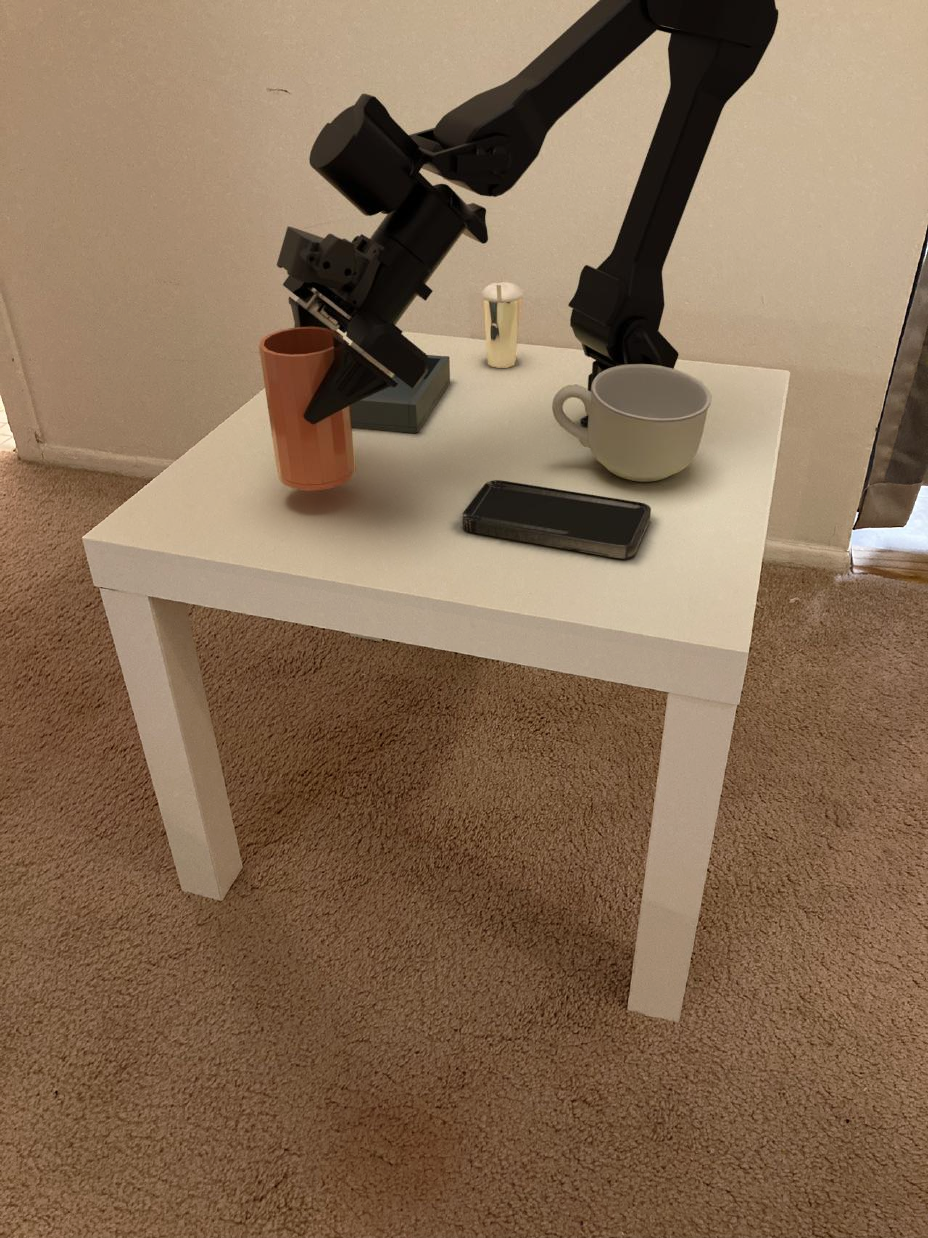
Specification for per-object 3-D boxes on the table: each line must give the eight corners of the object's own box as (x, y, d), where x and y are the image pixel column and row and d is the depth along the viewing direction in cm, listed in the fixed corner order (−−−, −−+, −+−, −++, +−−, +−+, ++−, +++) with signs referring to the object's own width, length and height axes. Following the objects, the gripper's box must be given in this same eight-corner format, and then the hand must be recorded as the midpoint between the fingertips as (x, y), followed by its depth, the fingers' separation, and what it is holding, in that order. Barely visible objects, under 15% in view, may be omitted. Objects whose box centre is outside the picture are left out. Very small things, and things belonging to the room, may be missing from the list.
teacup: (701, 449, 96) (716, 371, 91) (692, 503, 88) (708, 420, 83) (560, 430, 99) (567, 353, 94) (538, 480, 90) (545, 398, 86)
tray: (450, 382, 111) (449, 356, 109) (417, 433, 100) (415, 404, 98) (335, 373, 114) (333, 347, 112) (291, 422, 103) (288, 394, 101)
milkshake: (478, 372, 113) (477, 284, 108) (485, 355, 118) (484, 269, 112) (517, 373, 113) (519, 285, 107) (523, 357, 117) (524, 270, 111)
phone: (489, 478, 89) (653, 504, 85) (489, 489, 90) (652, 515, 85) (457, 519, 83) (633, 549, 79) (458, 530, 84) (632, 561, 79)
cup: (371, 469, 88) (360, 337, 81) (314, 498, 84) (297, 362, 77) (319, 448, 92) (304, 321, 85) (262, 475, 88) (242, 343, 81)
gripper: (292, 165, 82) (185, 318, 85) (381, 212, 69) (251, 393, 71) (385, 248, 90) (284, 387, 92) (482, 305, 76) (361, 467, 79)
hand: (293, 405), depth 84 cm, fingers closed on cup, 7 cm apart
